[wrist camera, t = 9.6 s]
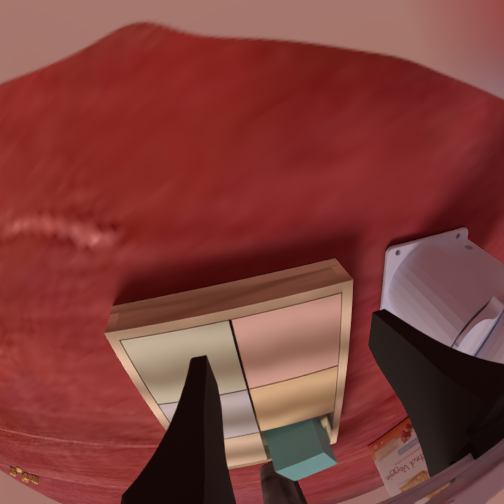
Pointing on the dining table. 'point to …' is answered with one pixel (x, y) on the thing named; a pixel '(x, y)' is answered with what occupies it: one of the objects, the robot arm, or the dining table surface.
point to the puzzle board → (236, 307)
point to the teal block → (300, 449)
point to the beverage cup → (279, 487)
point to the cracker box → (401, 460)
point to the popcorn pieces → (24, 475)
